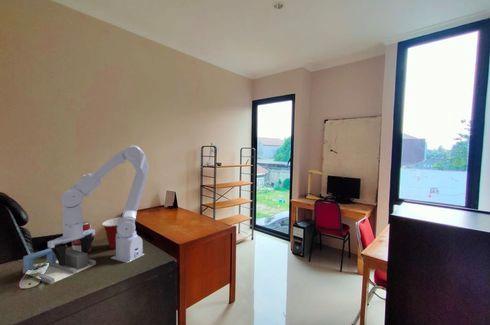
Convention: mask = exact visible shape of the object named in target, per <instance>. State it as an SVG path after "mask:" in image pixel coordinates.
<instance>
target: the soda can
mask: <svg viewBox="0 0 490 325" xmlns="http://www.w3.org/2000/svg"><path fill="white" fill-rule="evenodd" d="M90 229H93V228H92V225H91V224H90V221H86V220H83V231H86V230H90ZM92 243H93V242H92ZM92 243H91V245H90V247H89V250H88V252H90V251H91V250H92V249H93V244H92ZM71 249H73V250H77V251H80V252H81V243H80V239H77V240H74V241H71Z"/></svg>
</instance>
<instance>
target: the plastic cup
mask: <svg viewBox="0 0 490 325" xmlns="http://www.w3.org/2000/svg"><path fill="white" fill-rule="evenodd" d="M119 218H120V217H116V218H115V217H114V218H111V219H107V220H105V221H103V222H102V223H101V225H102V227H104V230H105V234H106V237H107V238H106V239H107V242H108V246H109V249H110V250H116V234H117V222H118V220H119Z"/></svg>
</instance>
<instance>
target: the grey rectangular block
mask: <svg viewBox="0 0 490 325" xmlns="http://www.w3.org/2000/svg"><path fill="white" fill-rule="evenodd" d="M88 259H89V258H88V254H87V253H84V252H80V251H77V250H73V249H72V248H68V249H66V252H65V265H66V266H69V267H72V268H75V269H77V270H79V269H81V268H84V267H86V266H88Z"/></svg>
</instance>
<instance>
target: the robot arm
mask: <svg viewBox="0 0 490 325" xmlns="http://www.w3.org/2000/svg"><path fill="white" fill-rule="evenodd" d="M127 161H128V162H129V163H131V165H132V167H133V168H134V169H135V174H134V177H133V181H132V184H131V186H130V189H129V193H128V197H127V200H126V203H125V207H124V210H123V211H122V215H121V216H120V217H118V218H119V220H118V222H117V234H116V249H115V255H113V256H111V257H110V259H112V260H116V261H120V262H123V263H131V262H132V261H134V260H136V259H138V258H140V257H142V256H144V255H145V253H143V251H144V250H143V248H144V247H143V244H144V243H143V242H144V241H143V238H142V237H141V236H139V235H138V234H137V230H136V220H137V215H138V214H137V212H138V209H139V206H140V203H141V199H142V195H143V192H144V189H145V186H146V184H147V180H148V176H149V172H150V166H149V163H148V161H147V158H146V154H145V152H144V151H143V150H142V149H141V147H139V146H138V145H135V144H131V145H129V146H126V147H125V148H124V150H120V151H119V152H118V153H116V154H114V155H113V156H112V157H111V158H109V159H108V160H107V161H106V162H105V163H103V165H102V166H101V167H99V168H98V169H97V170H96V171H95V172H92V173H90V172H89V173H86V174H83V175H81V177H80V178H81V179H79V181H77V182H76V183H75V184H73V185H70V186H69V188H70V189H69V190H67V191H64V192H63V194H62V195H61V197H60V202H61V204H62V236H60V237H57V238H55V239H51V240H49V241H47V248H48V249H49V248H51V250H52V251H53V252H54V254H55V255H56V259H57V260H56V261H58V263H59V265H61V266H64V265H65V252H66V250H67V246H66V245H65V246H64V244H67V243H70V242H71V243H72V241H74V240H77V239H80V243H81V252H84V253H87V255H88V253H89V251H88V250H89V247H90V245H91V243H93V241H95V240H94V239H95V235H96V230H95V229H93V228H92V229H90V230H86V231H83V222H84V220H83V218H84V217H83V214H84V213H83V202H82V201H84V198H85V197H86V198H87V197H89V195H90V194H91V193H93V192H94V191H95V190H96V189H97V188H98V187H100V185H102V179H103V178H105V176H107V175H108V174H109V173H110V172H111V171H113V170H114V169H115V168H116V167H117V166H118V165H122V164H125V163H127Z"/></svg>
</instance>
